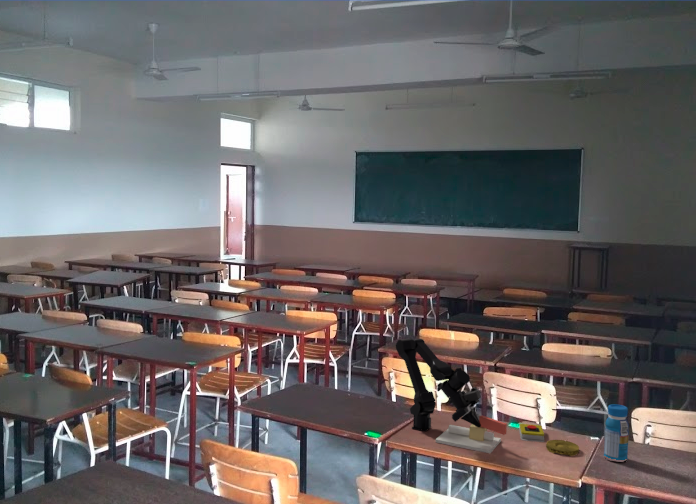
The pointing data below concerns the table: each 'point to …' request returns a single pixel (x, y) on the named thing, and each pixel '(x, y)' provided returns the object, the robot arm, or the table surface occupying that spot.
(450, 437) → the board
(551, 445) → the olive round disc
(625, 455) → the beverage bottle
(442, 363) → the robot arm
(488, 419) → the lever
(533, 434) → the emergency button
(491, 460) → the table surface
